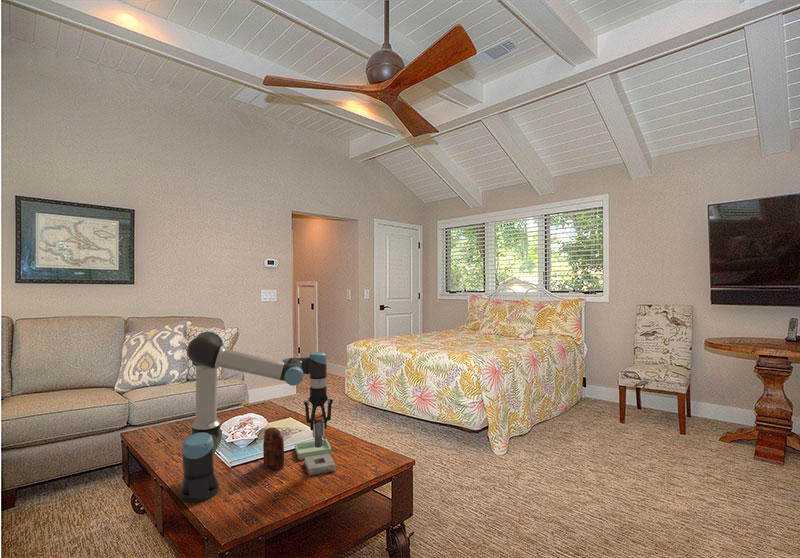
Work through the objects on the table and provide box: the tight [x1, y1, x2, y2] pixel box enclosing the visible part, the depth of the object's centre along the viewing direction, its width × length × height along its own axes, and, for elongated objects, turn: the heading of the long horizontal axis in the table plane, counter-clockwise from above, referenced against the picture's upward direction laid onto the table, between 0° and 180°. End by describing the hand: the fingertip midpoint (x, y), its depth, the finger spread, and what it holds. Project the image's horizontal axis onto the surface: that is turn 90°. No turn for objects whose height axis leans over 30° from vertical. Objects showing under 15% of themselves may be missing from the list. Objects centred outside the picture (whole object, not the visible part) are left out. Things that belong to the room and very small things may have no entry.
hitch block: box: [303, 453, 336, 476], centre depth 217 cm, size 12×12×3 cm
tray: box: [294, 438, 333, 461], centre depth 233 cm, size 16×12×3 cm
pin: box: [314, 413, 324, 448], centre depth 215 cm, size 5×5×14 cm
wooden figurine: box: [262, 426, 285, 471], centre depth 217 cm, size 12×6×18 cm, turn 65°
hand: (318, 436), depth 216 cm, fingers closed on pin, 4 cm apart
